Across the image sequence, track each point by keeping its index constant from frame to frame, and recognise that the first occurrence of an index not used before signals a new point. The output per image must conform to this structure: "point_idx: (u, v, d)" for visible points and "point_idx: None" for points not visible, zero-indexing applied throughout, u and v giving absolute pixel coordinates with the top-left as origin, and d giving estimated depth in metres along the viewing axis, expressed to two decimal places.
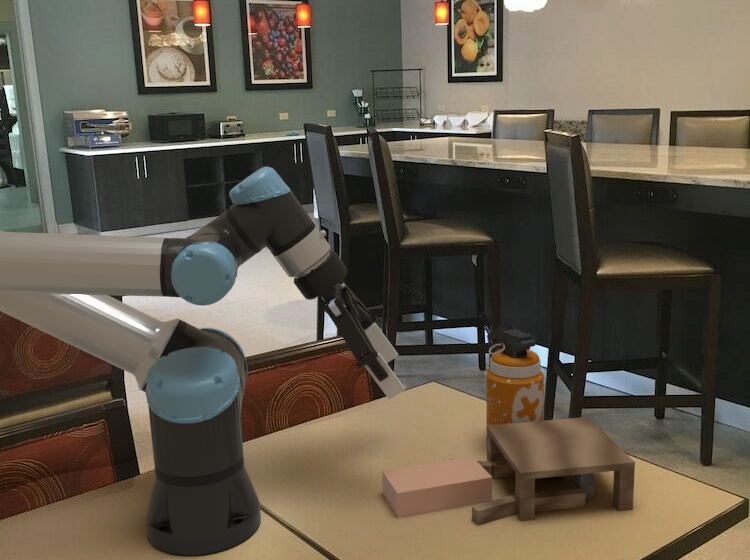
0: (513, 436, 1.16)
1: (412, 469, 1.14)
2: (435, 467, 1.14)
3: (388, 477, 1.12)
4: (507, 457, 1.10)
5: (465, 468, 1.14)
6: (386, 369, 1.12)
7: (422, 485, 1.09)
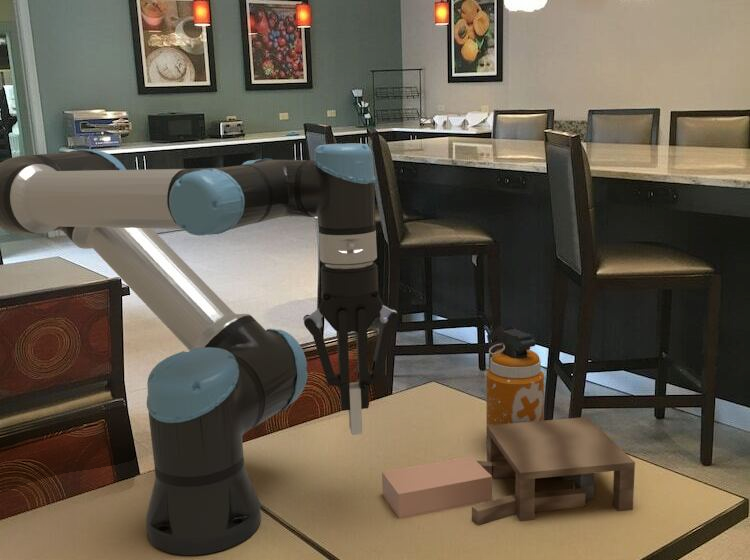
0: (513, 436, 1.16)
1: (412, 470, 1.14)
2: (434, 467, 1.14)
3: (388, 478, 1.12)
4: (507, 457, 1.10)
5: (464, 467, 1.14)
6: (350, 405, 1.07)
7: (423, 485, 1.09)
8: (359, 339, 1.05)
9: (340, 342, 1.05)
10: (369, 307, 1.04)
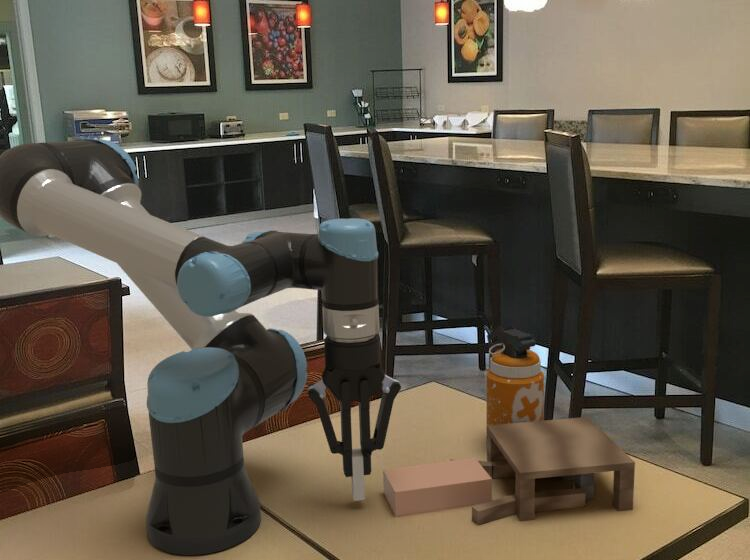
0: (513, 436, 1.16)
1: (413, 469, 1.14)
2: (436, 467, 1.14)
3: (388, 476, 1.12)
4: (507, 457, 1.10)
5: (466, 468, 1.14)
6: (352, 472, 1.09)
7: (421, 485, 1.09)
8: (362, 409, 1.07)
9: (343, 412, 1.07)
10: (371, 378, 1.07)
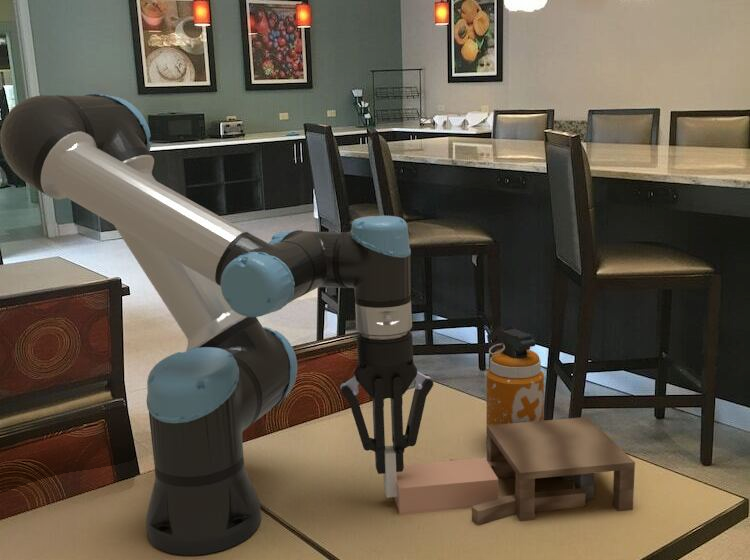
0: (513, 436, 1.16)
1: (421, 466, 1.14)
2: (444, 465, 1.14)
3: None
4: (507, 457, 1.10)
5: (474, 468, 1.13)
6: (385, 469, 1.10)
7: (426, 482, 1.10)
8: (394, 405, 1.07)
9: (376, 408, 1.07)
10: (404, 374, 1.07)
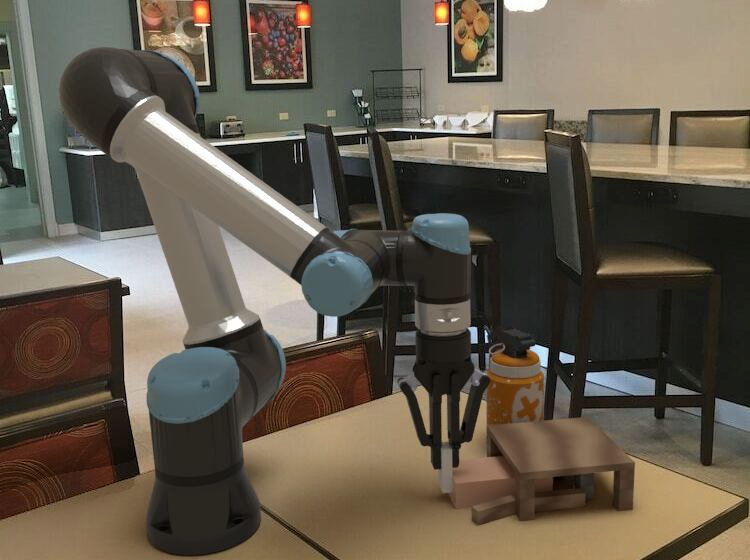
0: (513, 436, 1.16)
1: (474, 461, 1.15)
2: (497, 461, 1.15)
3: None
4: (507, 457, 1.10)
5: None
6: (441, 465, 1.11)
7: (481, 477, 1.11)
8: (452, 402, 1.08)
9: (434, 405, 1.08)
10: (462, 371, 1.08)
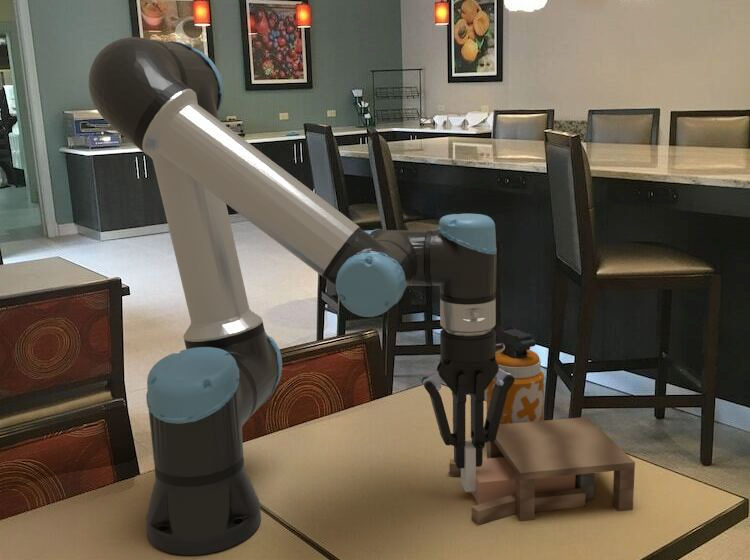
0: (513, 436, 1.16)
1: (496, 461, 1.16)
2: None
3: None
4: (507, 457, 1.10)
5: None
6: (464, 464, 1.11)
7: (504, 476, 1.11)
8: (476, 401, 1.09)
9: (458, 404, 1.09)
10: (486, 371, 1.08)
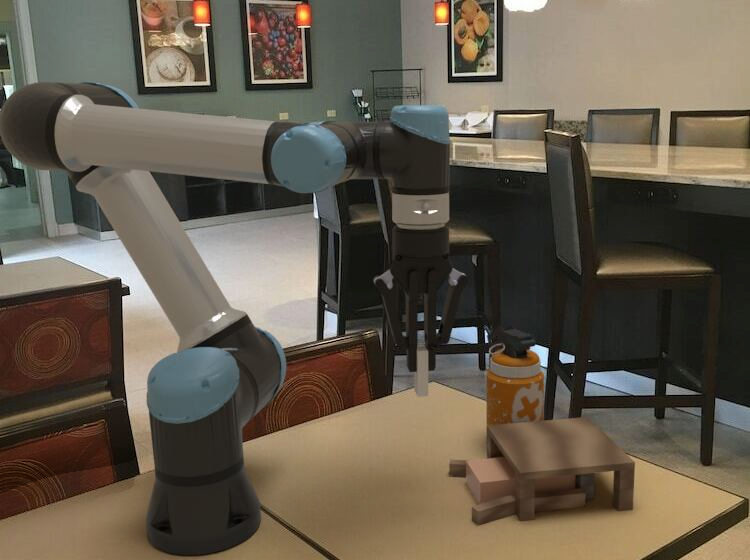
0: (513, 436, 1.16)
1: (495, 461, 1.16)
2: None
3: (471, 467, 1.14)
4: (507, 457, 1.10)
5: None
6: (416, 367, 1.08)
7: (505, 476, 1.11)
8: (429, 301, 1.06)
9: (410, 303, 1.06)
10: (440, 269, 1.05)
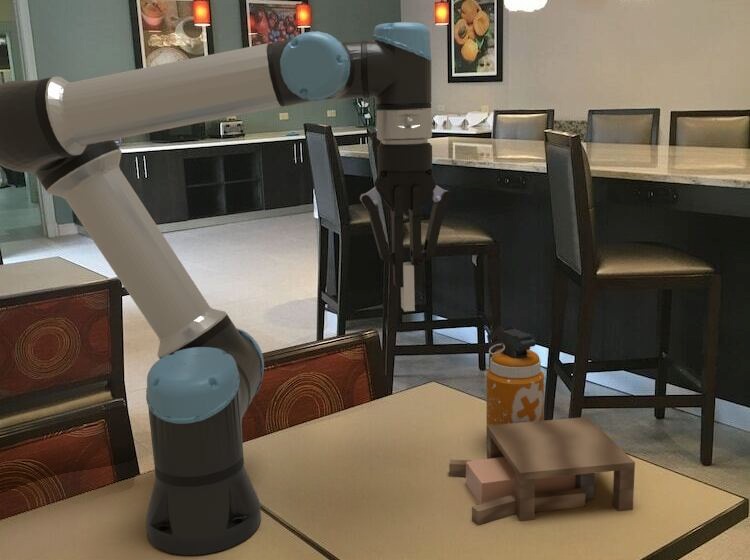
0: (513, 436, 1.16)
1: (495, 461, 1.16)
2: None
3: (472, 467, 1.14)
4: (507, 457, 1.10)
5: None
6: (403, 282, 1.11)
7: (506, 476, 1.11)
8: (413, 216, 1.09)
9: (395, 219, 1.09)
10: (423, 185, 1.09)
